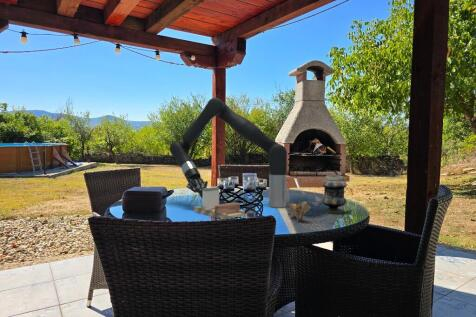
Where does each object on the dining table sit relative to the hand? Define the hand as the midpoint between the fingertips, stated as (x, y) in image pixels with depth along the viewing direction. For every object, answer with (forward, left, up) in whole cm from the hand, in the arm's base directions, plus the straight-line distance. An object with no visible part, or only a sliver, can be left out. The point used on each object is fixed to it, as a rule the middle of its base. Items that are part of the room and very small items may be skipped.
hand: (204, 197), depth 172 cm
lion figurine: (-46, +13, -7) cm, 49 cm away
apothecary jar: (-65, -6, -7) cm, 65 cm away
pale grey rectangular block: (-4, +3, -5) cm, 7 cm away
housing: (-9, +7, -6) cm, 13 cm away
